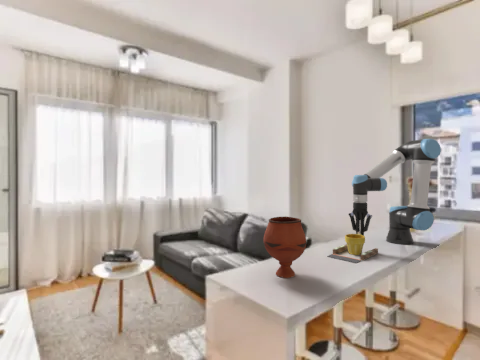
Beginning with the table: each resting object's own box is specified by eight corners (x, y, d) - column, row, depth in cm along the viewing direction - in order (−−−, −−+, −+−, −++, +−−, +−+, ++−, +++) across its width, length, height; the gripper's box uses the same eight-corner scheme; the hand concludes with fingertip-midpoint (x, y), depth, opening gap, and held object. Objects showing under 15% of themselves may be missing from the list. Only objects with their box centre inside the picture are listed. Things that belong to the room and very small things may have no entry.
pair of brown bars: (348, 247, 175) (348, 242, 175) (378, 253, 162) (378, 248, 162) (332, 253, 162) (332, 248, 162) (363, 260, 149) (363, 255, 149)
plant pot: (367, 256, 156) (366, 238, 155) (346, 255, 158) (346, 238, 158) (363, 250, 166) (363, 233, 165) (344, 250, 168) (343, 233, 168)
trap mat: (332, 254, 161) (332, 253, 161) (361, 260, 149) (361, 259, 149) (327, 256, 156) (327, 255, 156) (356, 263, 145) (356, 262, 145)
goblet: (278, 264, 144) (277, 214, 143) (314, 273, 131) (314, 218, 131) (255, 275, 129) (254, 219, 128) (293, 286, 117) (293, 224, 116)
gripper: (346, 201, 168) (345, 242, 169) (368, 203, 158) (368, 246, 159) (352, 200, 173) (351, 240, 174) (374, 202, 163) (374, 244, 164)
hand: (359, 243), depth 166 cm, fingers closed
